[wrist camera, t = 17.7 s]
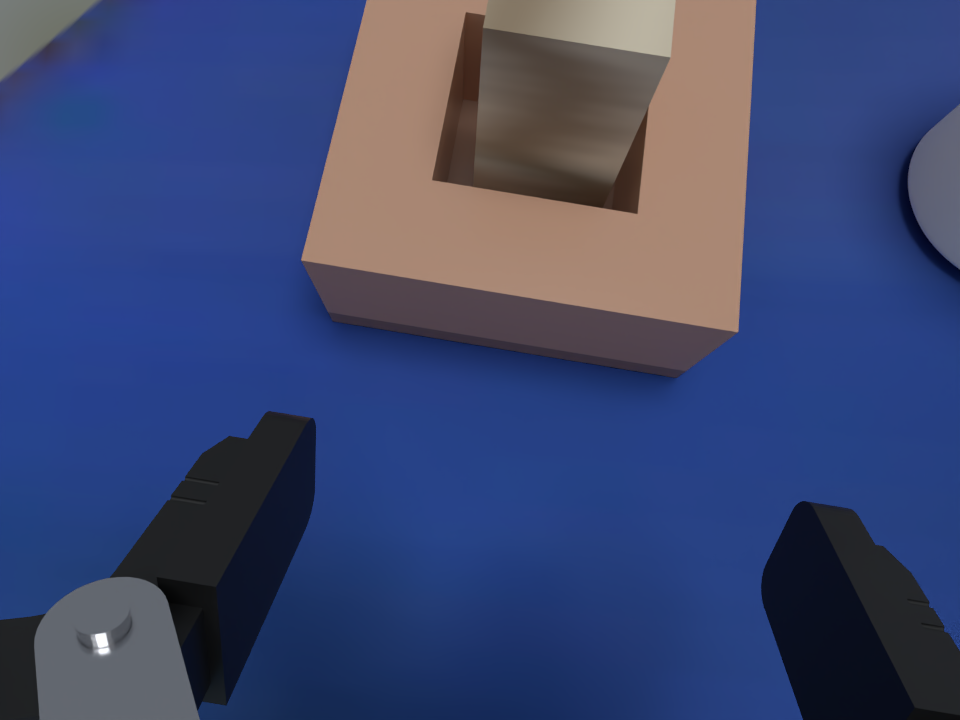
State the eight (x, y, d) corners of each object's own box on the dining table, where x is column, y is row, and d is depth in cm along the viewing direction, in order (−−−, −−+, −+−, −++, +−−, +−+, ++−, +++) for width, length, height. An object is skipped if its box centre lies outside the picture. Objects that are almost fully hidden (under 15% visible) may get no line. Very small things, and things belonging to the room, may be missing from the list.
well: (700, 86, 28) (757, -20, 23) (676, 377, 25) (737, 332, 20) (399, 36, 28) (387, -81, 23) (333, 321, 25) (301, 260, 20)
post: (598, 144, 26) (683, -88, 17) (586, 245, 25) (670, 57, 15) (487, 126, 26) (509, -117, 17) (470, 226, 25) (483, 27, 15)
